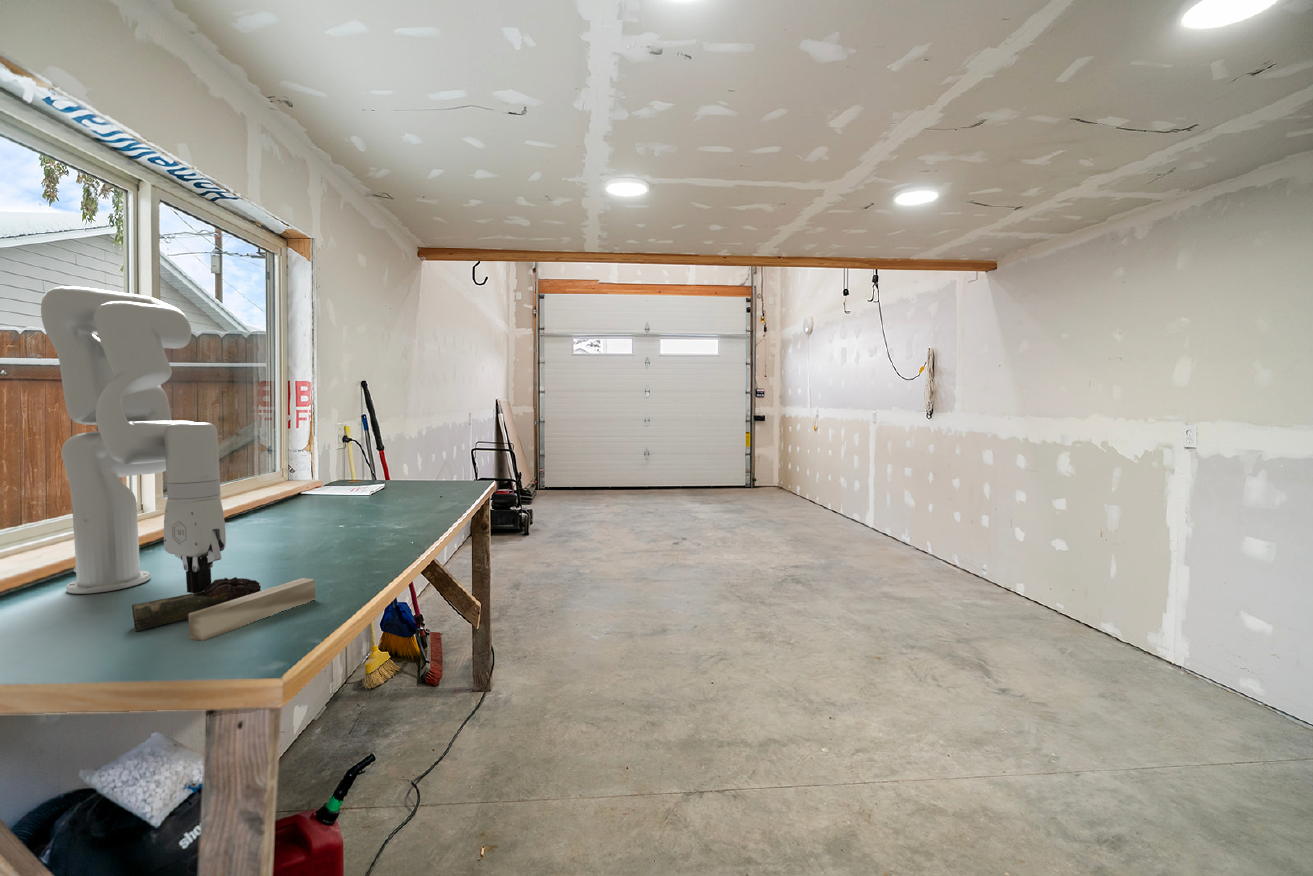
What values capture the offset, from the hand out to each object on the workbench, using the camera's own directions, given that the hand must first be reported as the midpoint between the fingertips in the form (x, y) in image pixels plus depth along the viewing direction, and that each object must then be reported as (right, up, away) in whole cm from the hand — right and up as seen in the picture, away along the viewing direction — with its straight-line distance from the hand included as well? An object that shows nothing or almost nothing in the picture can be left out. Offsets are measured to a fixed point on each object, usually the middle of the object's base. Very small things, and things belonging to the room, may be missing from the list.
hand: (199, 590), depth 106 cm
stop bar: (+14, -3, -5) cm, 15 cm away
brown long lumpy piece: (+3, -4, -3) cm, 6 cm away
